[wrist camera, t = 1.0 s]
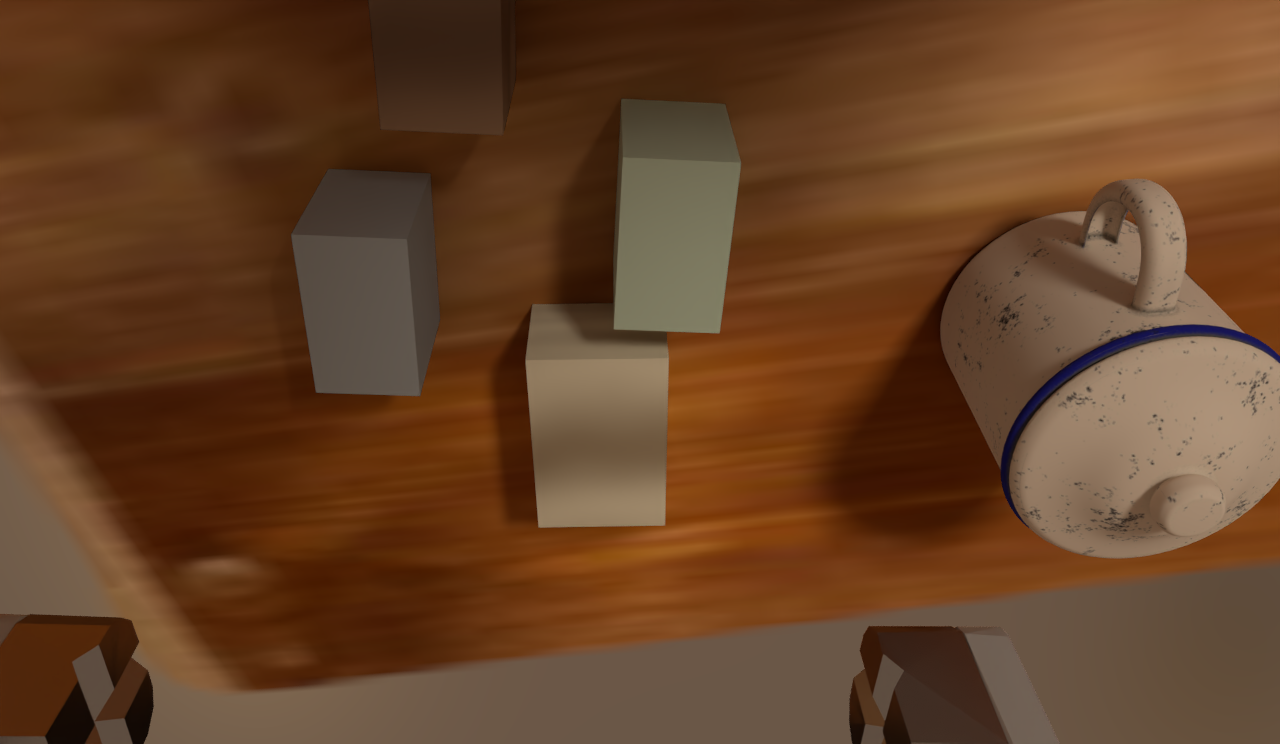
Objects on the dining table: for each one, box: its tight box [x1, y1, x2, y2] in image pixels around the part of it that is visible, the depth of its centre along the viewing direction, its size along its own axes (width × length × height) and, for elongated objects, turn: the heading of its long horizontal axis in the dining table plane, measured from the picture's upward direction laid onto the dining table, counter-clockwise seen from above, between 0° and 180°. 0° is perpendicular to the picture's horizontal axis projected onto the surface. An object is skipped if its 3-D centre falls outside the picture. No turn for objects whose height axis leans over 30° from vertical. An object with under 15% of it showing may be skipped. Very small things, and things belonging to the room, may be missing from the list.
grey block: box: [291, 169, 440, 396], centre depth 34 cm, size 6×4×5 cm, turn 177°
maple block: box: [525, 303, 669, 527], centre depth 38 cm, size 8×5×4 cm, turn 0°
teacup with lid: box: [940, 179, 1280, 558], centre depth 33 cm, size 12×9×12 cm
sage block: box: [613, 99, 741, 333], centre depth 33 cm, size 6×4×5 cm, turn 177°
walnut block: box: [368, 0, 516, 135], centre depth 29 cm, size 6×4×5 cm, turn 177°
